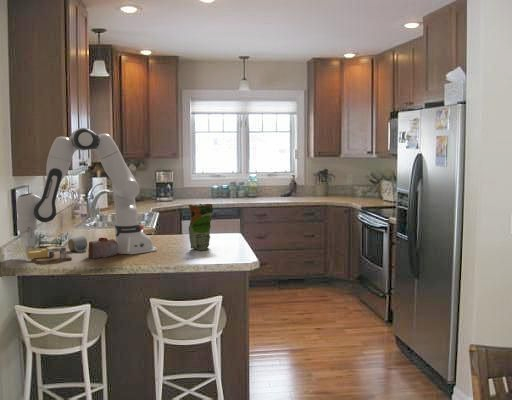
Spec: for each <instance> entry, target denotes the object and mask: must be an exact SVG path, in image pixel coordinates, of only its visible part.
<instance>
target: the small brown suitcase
mask: <svg viewBox="0 0 512 400" xmlns="http://www.w3.org/2000/svg"><path fill="white" fill-rule="evenodd" d="M87 249H88V251H87V253H88V254H87V255H88V256H87V257H88V258H90V259H92V260H93V259H101V258H103V259H105V258H110V257H114V256H116V255H118V254H119V253H118V243H117V242H116V239H113V238H111V239H110V238H109V239H108V237H99V238H98V240H90V241H89V242H88V248H87Z"/></svg>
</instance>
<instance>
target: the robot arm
mask: <svg viewBox="0 0 512 400" xmlns="http://www.w3.org/2000/svg"><path fill="white" fill-rule="evenodd" d="M90 150H92V151H94V152H95V154H96V155H97V158H98V160H99V161H100V163H101V166H102V168H103V170H104V171H105V173H106V176H108V178H109V180H110V181H111V183H112V185H111V187H112V195H113V203H114V208H115V209H114V210H115V225H114V234H115V241H116V242H117V243H118V253H117V254H120V255H123V254H125V255H137V254H143V253H150V252H156V251H158V248H157V247H156V246H155V245H153V240H152V239H151V237H150V236H148V235H147V234H146V233H144V232H143V231H142V230H144V229H145V227H144V225H140V224H138V209H137V208H138V207H137V205H136V199H135V198H137V196H138V195H139V194H140V190H141V188H140V184H139V183H138V182H137V180H136V178H135V176H134V175H133V172H131V169H130V168H129V167H128V165H127V163H126V161H125V160H124V156H123V154H122V153H121V151H120V149H119V147H118V145H117V143H116V142H115V140H114V139H113V138H112V136H111V135H110V134H108V133H100V134H97V133H96V132H94V130H91V129H89V128H86V127H80V128H77V129H75V130H74V131H73V132H72V133H71V134H70V135H69V136H57V137H56V138H55V139H54V140H53V143H52V145H51V147H50V149H49V152H48V156H47V159H46V166H45V167H46V181H45V185H44V190H43V192H42V195H41V196H38V195H36V194H35V193H33V192H29V193H27V192H26V193H24V194H20V195H19V196H18V197H17V199H16V213H17V220H16V221H17V231H19V237H20V242H21V243H22V244H23V245H24V246H25V247H24V248H25V253H26V254H27V252H31V251H32V248H35V247H36V244H37V243H36V236H35V235H36V234H35V230H38V222H37V221H39V222H41V223H50V222H51V221H53V220H54V219H55V218H56V216H57V206H56V200H57V197H58V193H59V189H60V186H61V183H62V181H63V179H64V178H65V176H66V175H67V173H68V171H69V168H70V166H71V164H72V159H73V156H74V154H75V152H76V151H90Z"/></svg>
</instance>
